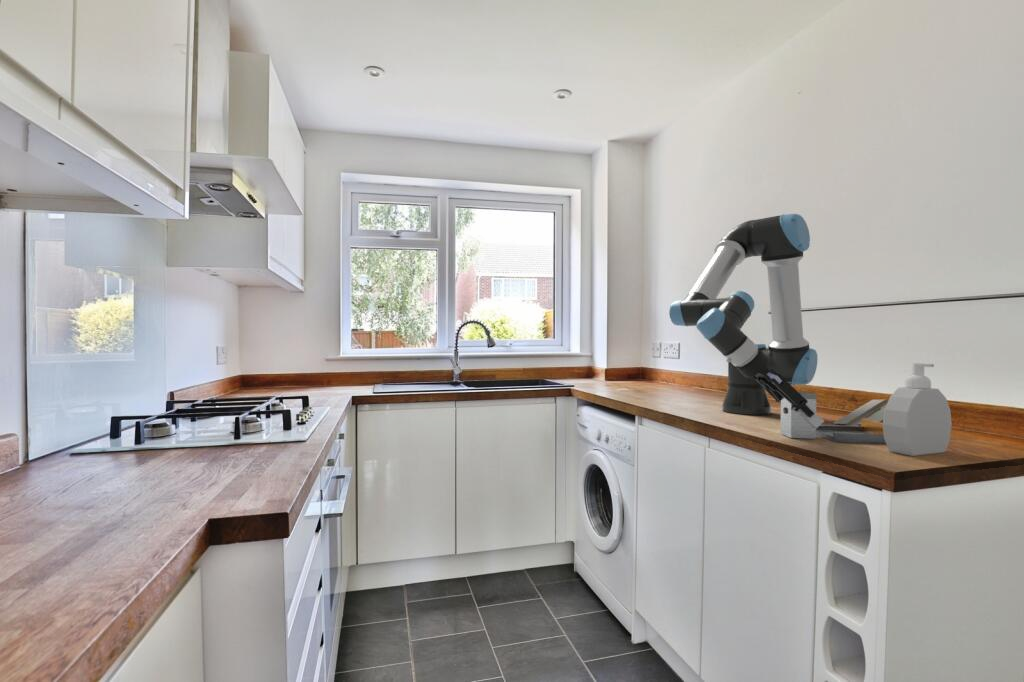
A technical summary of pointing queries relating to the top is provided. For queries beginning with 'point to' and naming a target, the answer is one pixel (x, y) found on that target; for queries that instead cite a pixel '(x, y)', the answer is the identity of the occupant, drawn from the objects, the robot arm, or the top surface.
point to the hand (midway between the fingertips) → (812, 422)
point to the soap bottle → (917, 417)
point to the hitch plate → (854, 432)
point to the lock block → (797, 419)
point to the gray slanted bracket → (865, 413)
